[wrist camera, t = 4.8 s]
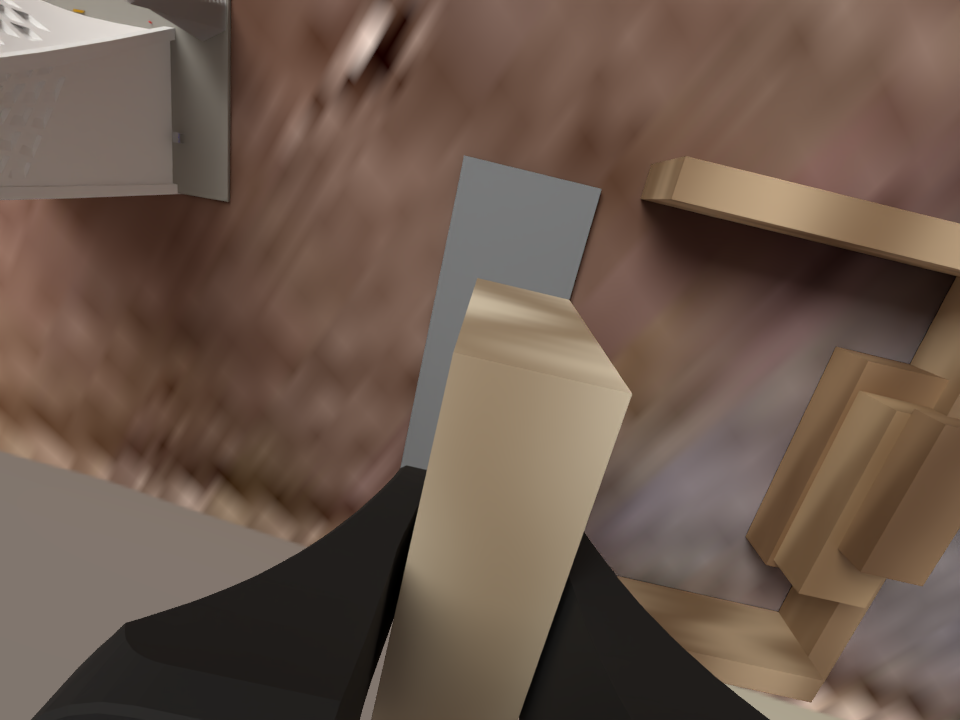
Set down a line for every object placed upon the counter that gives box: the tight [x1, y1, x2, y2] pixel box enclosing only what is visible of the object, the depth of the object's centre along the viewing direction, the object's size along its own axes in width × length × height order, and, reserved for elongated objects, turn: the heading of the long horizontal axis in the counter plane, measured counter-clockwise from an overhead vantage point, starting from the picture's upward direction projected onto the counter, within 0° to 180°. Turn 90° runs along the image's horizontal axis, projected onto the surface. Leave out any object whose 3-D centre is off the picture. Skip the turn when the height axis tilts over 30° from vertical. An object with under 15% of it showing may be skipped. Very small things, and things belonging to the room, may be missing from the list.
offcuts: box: [746, 347, 960, 608], centre depth 18 cm, size 3×9×5 cm, turn 167°
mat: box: [401, 156, 601, 470], centre depth 20 cm, size 5×16×1 cm, turn 167°
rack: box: [617, 156, 960, 702], centre depth 19 cm, size 13×18×4 cm
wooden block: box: [371, 278, 632, 720], centre depth 11 cm, size 2×10×6 cm, turn 167°
